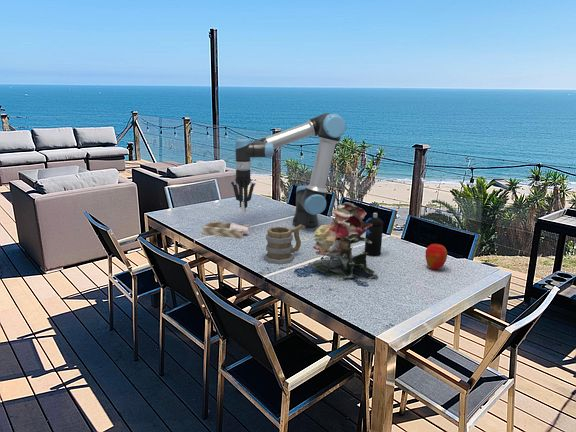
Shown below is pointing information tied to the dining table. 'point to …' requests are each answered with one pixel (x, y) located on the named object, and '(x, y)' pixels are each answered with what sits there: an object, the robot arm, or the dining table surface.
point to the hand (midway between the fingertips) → (243, 213)
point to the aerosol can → (374, 236)
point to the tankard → (282, 244)
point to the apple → (436, 256)
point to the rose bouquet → (342, 243)
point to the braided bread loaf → (222, 230)
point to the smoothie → (240, 228)
